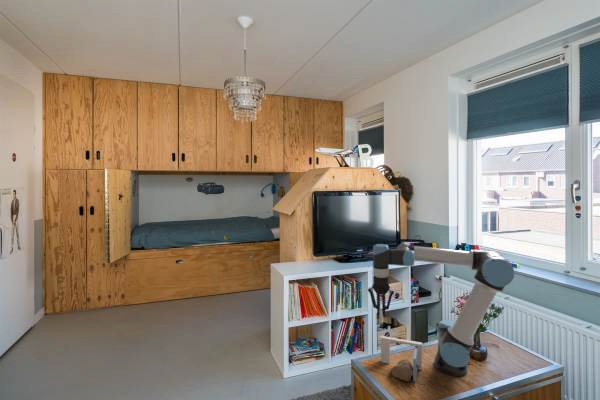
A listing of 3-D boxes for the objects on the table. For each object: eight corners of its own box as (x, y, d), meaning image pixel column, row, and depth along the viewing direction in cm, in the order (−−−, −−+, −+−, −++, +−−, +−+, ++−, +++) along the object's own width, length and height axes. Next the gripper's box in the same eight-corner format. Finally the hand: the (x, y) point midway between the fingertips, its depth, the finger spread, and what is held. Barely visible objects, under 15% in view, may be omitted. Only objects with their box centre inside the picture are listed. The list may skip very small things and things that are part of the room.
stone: (405, 390, 143) (417, 373, 142) (388, 376, 146) (399, 359, 145) (406, 378, 155) (417, 362, 154) (389, 365, 158) (400, 349, 157)
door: (415, 366, 157) (415, 344, 157) (421, 368, 156) (421, 345, 155) (413, 381, 146) (413, 357, 145) (419, 383, 144) (419, 359, 144)
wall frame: (421, 368, 157) (421, 342, 156) (421, 370, 155) (421, 344, 154) (381, 360, 164) (381, 335, 163) (380, 362, 162) (380, 337, 162)
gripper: (395, 274, 155) (395, 320, 156) (368, 272, 160) (369, 317, 161) (393, 279, 148) (394, 327, 149) (366, 276, 153) (367, 323, 154)
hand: (381, 321), depth 155 cm, fingers closed
